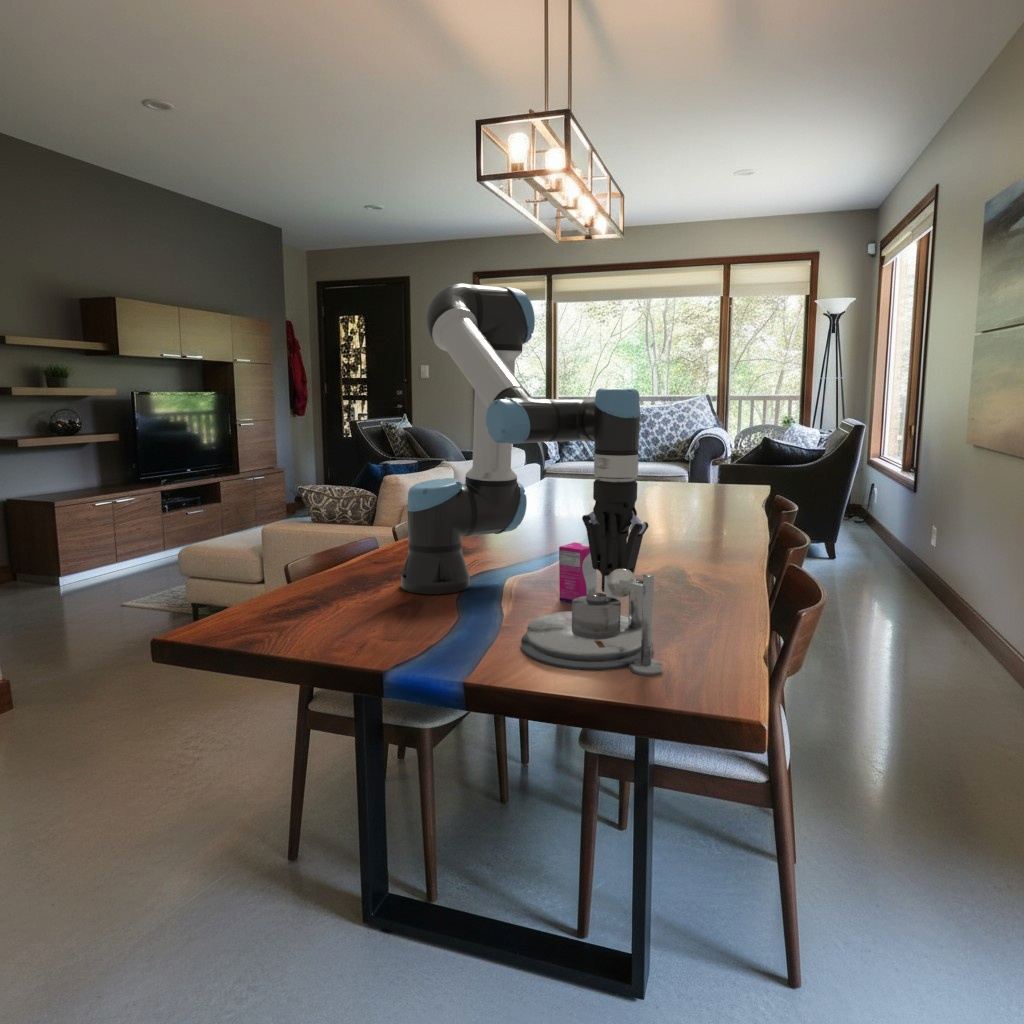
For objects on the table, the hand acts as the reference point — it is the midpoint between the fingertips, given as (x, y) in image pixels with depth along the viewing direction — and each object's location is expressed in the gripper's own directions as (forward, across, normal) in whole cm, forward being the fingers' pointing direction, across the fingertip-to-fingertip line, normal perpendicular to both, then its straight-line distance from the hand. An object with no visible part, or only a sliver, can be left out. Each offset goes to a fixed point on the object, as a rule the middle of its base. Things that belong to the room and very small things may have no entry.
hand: (611, 611), depth 133 cm
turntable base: (+4, +2, -8) cm, 10 cm away
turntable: (+3, +1, -8) cm, 9 cm away
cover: (+1, +4, -9) cm, 9 cm away
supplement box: (+5, -19, +13) cm, 23 cm away
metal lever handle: (+4, +13, -11) cm, 17 cm away
